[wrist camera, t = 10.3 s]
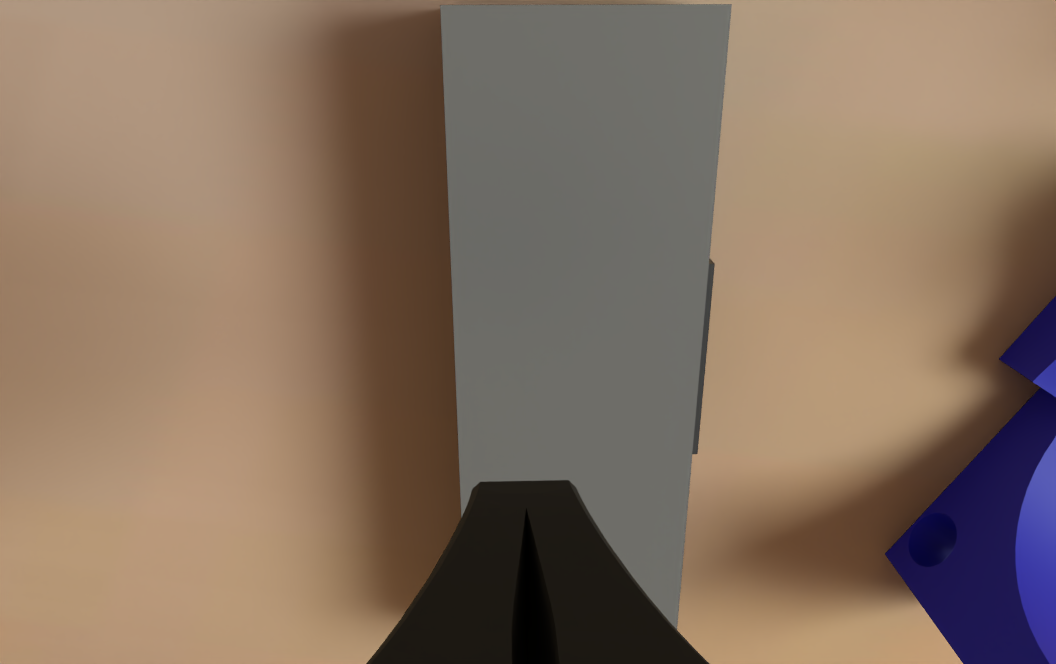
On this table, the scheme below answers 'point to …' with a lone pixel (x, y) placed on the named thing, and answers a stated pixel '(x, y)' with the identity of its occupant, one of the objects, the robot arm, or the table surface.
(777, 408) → the table surface
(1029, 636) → the blue pipe saddle
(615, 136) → the grey rectangular block
